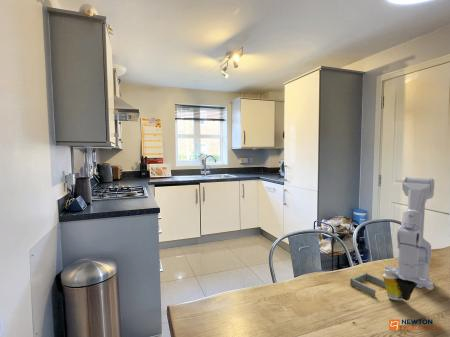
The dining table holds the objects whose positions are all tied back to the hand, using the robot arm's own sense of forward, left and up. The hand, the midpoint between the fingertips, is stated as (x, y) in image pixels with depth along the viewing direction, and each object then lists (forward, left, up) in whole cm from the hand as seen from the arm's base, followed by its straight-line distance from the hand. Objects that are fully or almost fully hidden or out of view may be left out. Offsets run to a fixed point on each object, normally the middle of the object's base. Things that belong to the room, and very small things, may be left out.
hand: (406, 299), depth 89 cm
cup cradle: (0, -12, -2) cm, 13 cm away
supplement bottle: (0, -3, -1) cm, 3 cm away
